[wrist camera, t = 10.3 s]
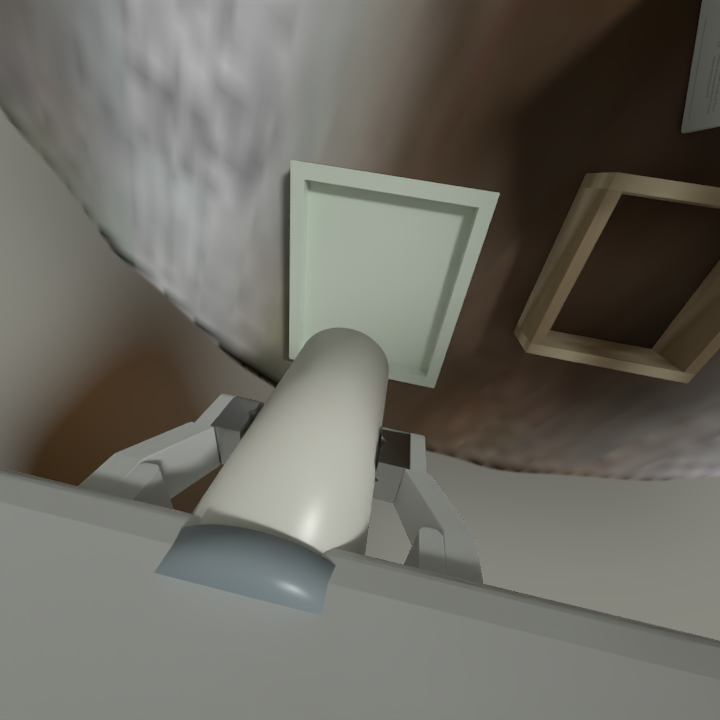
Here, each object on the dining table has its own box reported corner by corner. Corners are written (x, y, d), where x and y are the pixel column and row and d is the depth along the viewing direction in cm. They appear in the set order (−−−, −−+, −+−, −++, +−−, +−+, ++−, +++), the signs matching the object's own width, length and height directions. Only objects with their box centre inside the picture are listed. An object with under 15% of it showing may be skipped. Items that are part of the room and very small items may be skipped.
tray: (494, 192, 21) (499, 192, 19) (433, 378, 29) (434, 388, 28) (298, 161, 21) (290, 159, 20) (294, 350, 30) (289, 358, 29)
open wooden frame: (778, 202, 18) (847, 206, 16) (655, 359, 25) (687, 383, 22) (586, 173, 19) (616, 172, 16) (513, 332, 25) (525, 352, 22)
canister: (402, 334, 13) (381, 617, 5) (383, 415, 16) (347, 693, 7) (297, 314, 13) (94, 545, 5) (295, 396, 16) (159, 642, 7)
